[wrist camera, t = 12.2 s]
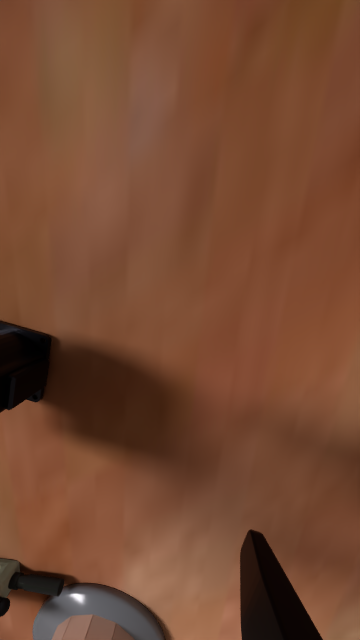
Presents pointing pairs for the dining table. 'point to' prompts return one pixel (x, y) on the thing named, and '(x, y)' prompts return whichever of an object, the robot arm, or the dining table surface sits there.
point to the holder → (94, 616)
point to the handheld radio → (24, 583)
